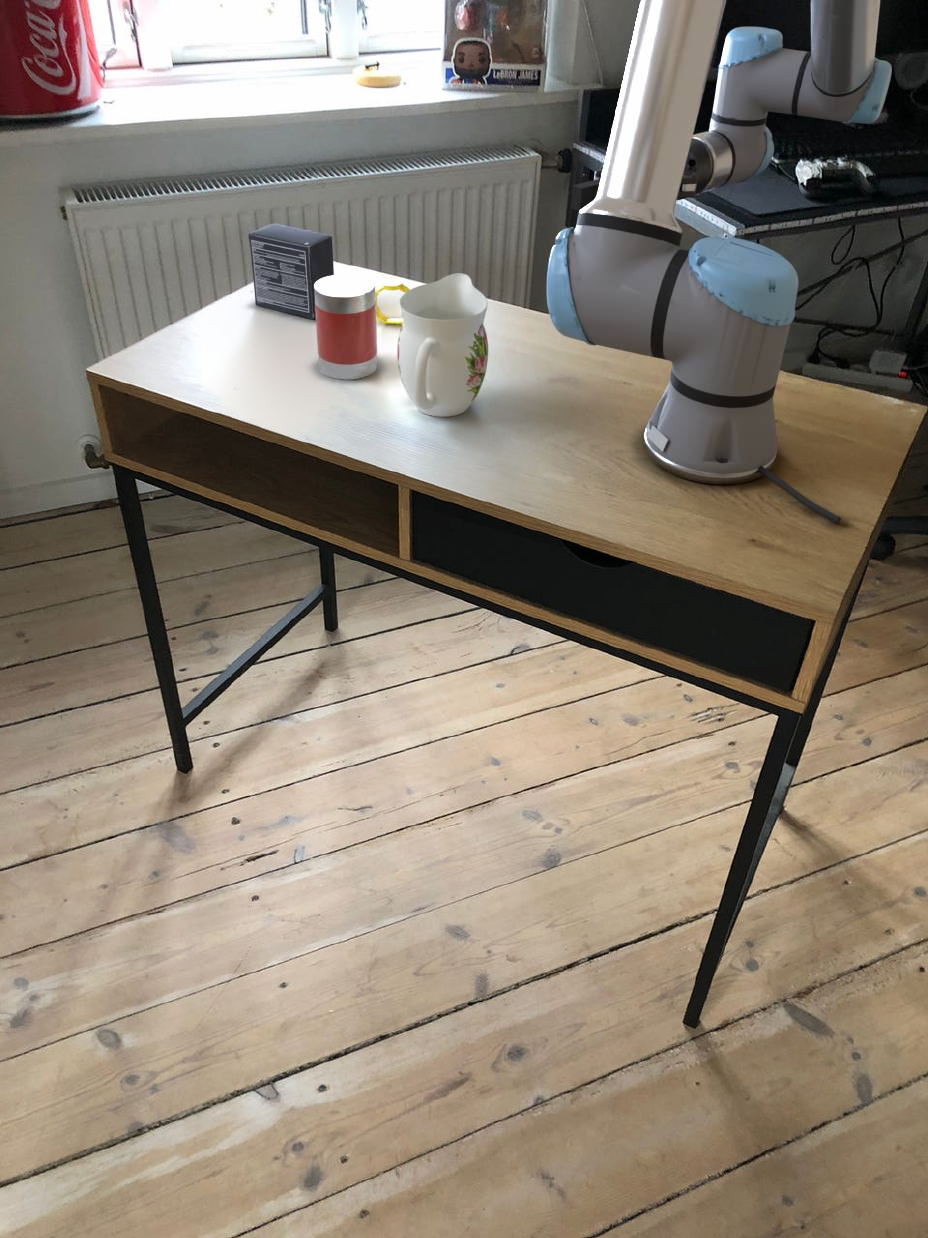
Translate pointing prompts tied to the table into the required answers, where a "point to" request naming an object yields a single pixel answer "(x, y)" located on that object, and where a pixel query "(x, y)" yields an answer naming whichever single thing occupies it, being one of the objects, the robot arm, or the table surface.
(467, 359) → the pitcher
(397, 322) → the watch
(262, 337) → the table surface
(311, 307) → the small box
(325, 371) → the tin can
